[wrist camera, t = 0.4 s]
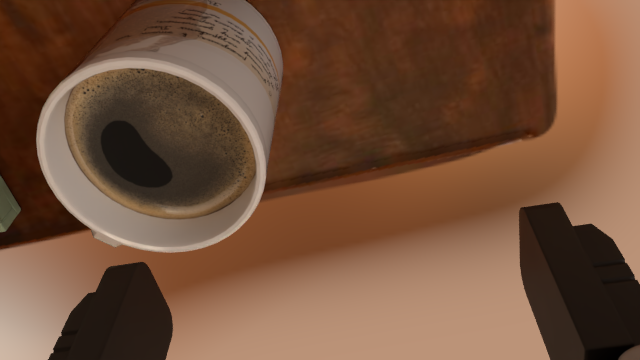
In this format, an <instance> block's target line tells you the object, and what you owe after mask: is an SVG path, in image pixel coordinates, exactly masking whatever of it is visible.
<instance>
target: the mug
mask: <svg viewBox="0 0 640 360" xmlns="http://www.w3.org/2000/svg"><path fill="white" fill-rule="evenodd" d="M282 80H283V61H282V55H281V50H280V47H279V44H278V41H277V39H276V37H275V35H274V33H273V31H272V29H271V27H270V26H269V24H268V23H267V22H266V20H265V19H264V18H263V16H262V15H261V14H260V13H259V12H258V11H257V10H256V9H255V8H254V7H253V6H252V5H251V4H249V3H248V2H247V1H245V0H136V1H135V2H134V3H133V4H132V5H131V6H130V7H129V8H128V9H127V10H126V11H125V13H124V14H123V15H122V16H121V17H120V18H119V19H118V20H117V21H116V22H115V23H114V25H113V26H112V27H111V28H110V29H109V30H108V31H107V32H106V33H105V34H104V36H103V37H102V38H101V39H100V40H99V41H98V42H97V43H96V44H95V45H94V46H93V48H92V49H91V50H90V51H89V52H88V53H87V54H86V55H85V56H84V57H83V59H82V60H81V61H80V62H79V63H78V64H77V65H76V66H75V67H74V68H73V70H72V71H71V72H70V73H69V74H68V75H67V76H66V77H65V78H64V79H63V80H62V82H61V83H60V84H59V85H58V86H57V87H56V88H55V89H54V91H53V92H52V93H51V94H50V95H49V97H48V99H47V101H46V102H45V104H44V106H43V108H42V111H41V114H40V117H39V120H38V125H37V135H36V143H37V154H38V158H39V162H40V166H41V169H42V172H43V174H44V176H45V178H46V180H47V183H48V185H49V186H50V188H51V189H52V191H53V192H54V194H55V195H56V197H57V198H58V199H59V201H60V202H61V203H62V204H63V205H64V206H65V208H66V209H67V210H68V211H69V212H70V213H72V214H73V215H74V216H75V217H76V218H77V219H78V220H79V221H81V222H82V223H83V224H85V225H86V226H88V227H89V228H91V229H92V230H91V232H92V235H93V237H94V238H96V239H98V240H100V241H102V242H104V243H107V244H109V245H111V246H113V247H118V246H121V245H126V246H130V247H133V248H137V249H141V250H147V251H154V252H184V251H191V250H196V249H200V248H204V247H207V246H210V245H212V244H215V243H217V242H219V241H221V240H223V239H225V238H226V237H228V236H230V235H231V234H232V233H234V232H235V231H236V230H238V229H239V228H240V227H241V226H242V225H243V224H244V223H245V222H246V221H247V220H248V219H249V218H250V216H251V215H252V214H253V212H254V210H255V209H256V207H257V205H258V204H259V201H260V199H261V196H262V193H263V191H264V185H265V180H266V174H267V168H268V162H269V156H270V150H271V144H272V139H273V133H274V127H275V121H276V115H277V109H278V103H279V98H280V92H281V86H282Z"/></svg>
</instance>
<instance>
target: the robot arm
mask: <svg viewBox="0 0 640 360" xmlns="http://www.w3.org/2000/svg"><path fill="white" fill-rule="evenodd" d="M519 235H520V267H521V275H522V280H523V285H524V289H525V292H526V295H527V298H528V300H529V303H530V306H531V308H532V311H533V313H534V316H535V319H536V322H537V325H538V327H539V330H540V332H541V335H542V338H543V341H544V343H545V346H546V349H547V352H548V354H549V357H550V360H640V284H639V283H638V281H637V280H635V278H634V274H633V273H632V271H631V269H630V267H629V266H628V264H627V263H625V259H624V257H623V256H622V254H621V252H620V251H619V249H618V247H617V246H616V244H615V242H614V241H613V239H611V238H610V237H609V236H607V235H606V234H604V233H603V232H602V231H601V230H599V229H598V228H597V227H595V226H594V225H592V224H586V225H579V226H572V224H571V222H570V220H569V219H568V217H567V215H566V213H565V211H564V209H563V207H562V206H561V205H560V203H558V202H557V203H550V204H544V205H537V206H530V207H522V208H520V211H519ZM172 331H173V324H172V316H171V312H170V309H169V307H168V305H167V303H166V301H165V299H164V297H163V295H162V293H161V291H160V289H159V287H158V285H157V283H156V281H155V279H154V277H153V275H152V273H151V271H150V269H149V267H148V266H147V264H145V263H144V262H138V263H132V264H125V265H118V266H111V267H109V268H108V269H106V271H105V273H104V275H103V277H102V279H101V281H100V284H99V286H98V288H97V290H96V292H93V293H88V294H87V295H86V296H85V297H84V298H83V299H82V301H81V302H80V303H79V304H78V305H77V306H76V307H75V308H74V309H73V311H72V312H71V313H70V315H69V317H68V319H67V321H66V323H65V326H64V328H63V330H62V332H61V333H62V336H60V337H59V338H58V340H57V342H56V344H55V346H54V348H53V350H54V352H53V353H52V354H51V355H50V357H49V359H48V360H165V359H166V356H167V352H168V349H169V345H170V342H171V338H172Z"/></svg>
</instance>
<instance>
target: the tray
mask: <svg viewBox="0 0 640 360" xmlns="http://www.w3.org/2000/svg"><path fill="white" fill-rule="evenodd" d="M20 211H21V208H20V207H19V205H18V203H17V202H16V200H15V198H14V197H13V195H12V193H11V192H10V190H9V189H8V187H7V185H6V184H5V182H4V180H3V179H2V177H1V175H0V232H4V231H6V230H7V229H8V227H9V226H10V224H11V223H12V222H13V220H14V219H15V218H16V216H17V215H18V214H19V212H20Z"/></svg>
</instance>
